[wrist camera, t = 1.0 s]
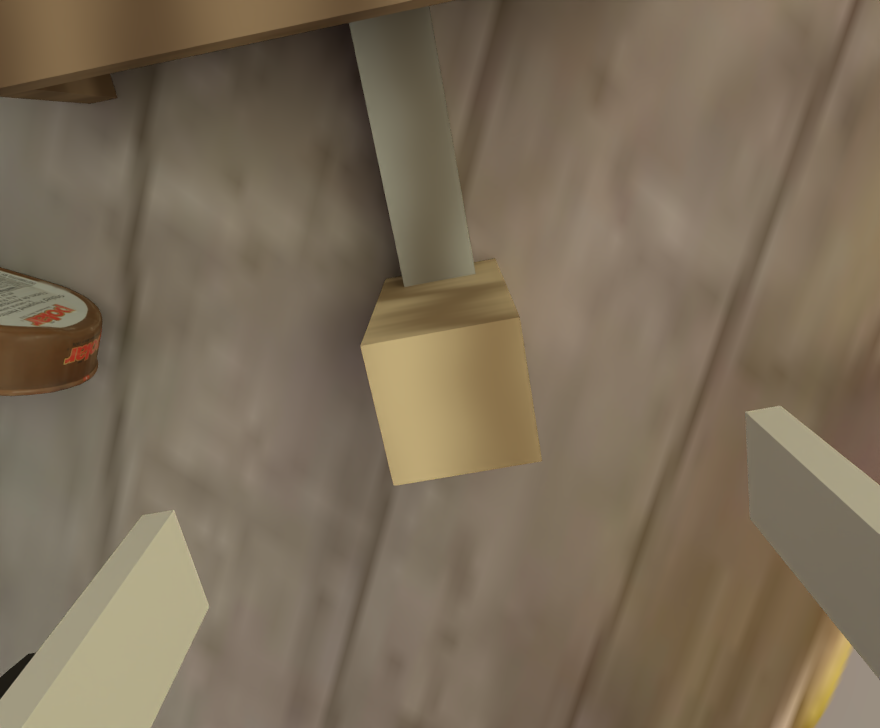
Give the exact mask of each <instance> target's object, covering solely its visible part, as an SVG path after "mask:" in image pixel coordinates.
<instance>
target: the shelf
mask: <svg viewBox="0 0 880 728" xmlns="http://www.w3.org/2000/svg"><path fill="white" fill-rule="evenodd" d="M449 1H454V0H0V97H11V98H23V99H36V100H49V101H62V102H75V103H87V104H91V103H96V102H101V101H105V100H110V99H115V98H117V95H116V92H115V89H114V85H113V82H112V79H111V76H110V73H115V72H119V71H124V70H129V69H133V68H138V67H143V66H148V65H152V64H157V63H162V62H166V61H171V60H176V59H181V58H185V57H190V56H195V55H199V54H204V53H209V52H214V51H218V50H223V49H228V48H232V47H237V46H242V45H247V44H251V43H256V42H261V41H265V40H270V39H275V38H280V37H284V36H289V35H294V34H299V33H303V32H308V31H313V30H317V29H322V28H327V27H332V26H336V25H341V24H346V23H350V22H355V21H360V20H365V19H369V18H374V17H379V16H383V15H388V14H393V13H398V12H402V11H407V10H412V9H416V8H421V7H426V6H431V5H435V4H440V3H445V2H449Z"/></svg>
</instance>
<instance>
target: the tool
mask: <svg viewBox="0 0 880 728" xmlns="http://www.w3.org/2000/svg"><path fill="white" fill-rule="evenodd" d="M349 26H350V30H351V35H352V40H353V45H354V49H355V54H356V59H357V64H358V68H359V73H360V78H361V83H362V87H363V92H364V97H365V102H366V106H367V111H368V116H369V121H370V125H371V130H372V135H373V140H374V145H375V149H376V154H377V159H378V164H379V168H380V173H381V178H382V183H383V187H384V192H385V197H386V202H387V206H388V211H389V216H390V221H391V225H392V230H393V235H394V240H395V244H396V249H397V254H398V259H399V264H400V268H401V273H402V276H399V277H393V278H388V279H385V282H384V285H383V287H382V290H381V293H380V295H379V298H378V301H377V303H376V306H375V309H374V311H373V314H372V317H371V319H370V322H369V324H368V327H367V330H366V332H365V335H364V338H363V340H362V343H361V351H362V355H363V359H364V363H365V367H366V372H367V376H368V380H369V384H370V388H371V392H372V397H373V401H374V405H375V409H376V413H377V418H378V422H379V426H380V430H381V434H382V438H383V443H384V447H385V451H386V455H387V459H388V464H389V468H390V472H391V476H392V480H393V484H394V486H396V485H402V484H408V483H414V482H420V481H426V480H432V479H438V478H444V477H450V476H456V475H462V474H468V473H474V472H480V471H486V470H492V469H498V468H504V467H510V466H516V465H522V464H528V463H534V462H540V461H542V458H541V452H540V445H539V439H538V432H537V426H536V420H535V413H534V407H533V400H532V394H531V387H530V381H529V374H528V368H527V362H526V355H525V349H524V342H523V336H522V329H521V323H520V317H519V315H518V312H517V310H516V307H515V305H514V303H513V300H512V298H511V295H510V293H509V291H508V288H507V286H506V284H505V281H504V279H503V276H502V274H501V272H500V269H499V267H498V265H497V262H496V260H495V259H490V260H484V261H479V262H473V256H472V250H471V244H470V239H469V233H468V227H467V221H466V216H465V210H464V204H463V198H462V192H461V187H460V181H459V175H458V169H457V164H456V158H455V152H454V146H453V141H452V135H451V129H450V123H449V118H448V112H447V106H446V100H445V95H444V89H443V83H442V77H441V71H440V66H439V60H438V54H437V48H436V43H435V37H434V31H433V25H432V20H431V14H430V8H429V6H426V7H421V8H416V9H412V10H407V11H402V12H398V13H393V14H388V15H383V16H379V17H374V18H369V19H365V20H360V21H355V22H350V23H349Z"/></svg>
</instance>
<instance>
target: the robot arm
mask: <svg viewBox="0 0 880 728" xmlns="http://www.w3.org/2000/svg"><path fill="white" fill-rule="evenodd" d="M745 417H746V439H747V462H748V484H749V506H750V519H751V521H752V522H753V523H754V524H755V525H756V527H757V528H758V529H759V530H760V532H761V533H762V534H763V535H764V537H765V538H766V539H767V540H768V542H769V543H770V544H771V545H772V547H773V548H774V549H775V550H776V552H777V553H778V554H779V555H780V557H781V558H782V559H783V560H784V562H785V563H786V564H787V565H788V566H789V568H790V569H791V570H792V571H793V573H794V574H795V575H796V576H797V578H798V579H799V580H800V581H801V583H802V584H803V585H804V586H805V588H806V589H807V590H808V591H809V593H810V594H811V595H812V596H813V598H814V599H815V600H816V601H817V603H818V604H819V605H820V606H821V608H822V609H823V610H824V611H825V612H826V614H827V615H828V616H829V617H830V619H831V620H832V621H833V622H834V624H835V625H836V626H837V627H838V629H839V630H840V631H841V632H842V634H843V635H844V636H845V637H846V639H847V640H848V641H849V642H850V644H851V645H852V646H853V647H854V649H855V650H856V651H857V652H858V654H859V655H860V656H861V657H862V658H863V659H864V661H865V662H866V663H867V665H868V666H869V667H870V668H871V670H872V671H873V672H874V673H875V675H876V676H877V677H878V678H879V680H880V485H879V484H877V483H876V482H875V481H874V480H872V479H871V478H870V477H869V476H867V475H866V474H865V473H864V472H862V471H861V470H860V469H859V468H857V467H856V466H855V465H854V464H852V463H851V462H850V461H849V460H847V459H846V458H845V457H844V456H842V455H841V454H840V453H839V452H837V451H836V450H835V449H834V448H832V447H831V446H830V445H829V444H827V443H826V442H825V441H824V440H822V439H821V438H820V437H819V436H817V435H816V434H815V433H814V432H813V431H811V430H810V429H809V428H808V427H806V426H805V425H804V424H803V423H801V422H800V421H799V420H798V419H796V418H795V417H794V416H793V415H791V414H790V413H789V412H788V411H786V410H785V409H784V408H783V407H781V406H776V407H771V408H765V409H759V410H753V411H747V412H745ZM208 608H209V604H208V601H207V599H206V596H205V593H204V591H203V588H202V585H201V582H200V580H199V577H198V574H197V571H196V569H195V566H194V563H193V561H192V558H191V555H190V552H189V550H188V547H187V544H186V542H185V539H184V536H183V533H182V531H181V528H180V525H179V522H178V520H177V517H176V514H175V512H174V510H171V511H165V512H159V513H153V514H147V515H142V516H141V518H140V519H139V520H138V522H137V523H136V524H135V525H134V527H133V528H132V529H131V531H130V532H129V533H128V535H127V536H126V537H125V538H124V540H123V541H122V542H121V544H120V545H119V546H118V548H117V549H116V550H115V551H114V553H113V554H112V555H111V557H110V558H109V559H108V560H107V562H106V563H105V564H104V566H103V567H102V568H101V570H100V571H99V572H98V573H97V575H96V576H95V577H94V579H93V580H92V581H91V583H90V584H89V585H88V586H87V588H86V589H85V590H84V592H83V593H82V594H81V595H80V597H79V598H78V599H77V601H76V602H75V603H74V605H73V606H72V607H71V608H70V610H69V611H68V612H67V614H66V615H65V616H64V617H63V619H62V620H61V621H60V623H59V624H58V625H57V627H56V628H55V629H54V630H53V632H52V633H51V634H50V636H49V637H48V638H47V640H46V641H45V642H44V643H43V645H42V646H41V647H40V649H39V650H38V651H37V652H36V653H31V654H28V655H26V656H25V657H24V658H23V659H22V660H20V661H19V662H18V663H17V664H16V665H14V666H13V667H12V668H11V669H10V670H8V671H7V672H6V673H5V674H4V675H2V676H1V677H0V728H151V726H152V724H153V722H154V720H155V718H156V716H157V714H158V712H159V710H160V708H161V706H162V703H163V701H164V699H165V697H166V695H167V693H168V691H169V689H170V687H171V685H172V683H173V681H174V679H175V677H176V674H177V672H178V670H179V668H180V666H181V664H182V662H183V660H184V658H185V656H186V654H187V652H188V650H189V648H190V645H191V643H192V641H193V639H194V637H195V635H196V633H197V631H198V629H199V627H200V625H201V623H202V621H203V618H204V616H205V614H206V612H207V610H208Z"/></svg>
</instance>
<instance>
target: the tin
mask: <svg viewBox="0 0 880 728" xmlns="http://www.w3.org/2000/svg"><path fill="white" fill-rule="evenodd" d="M101 330H102V316H101V313H100V311H99V309H98V307H97V306H96V305H95V304H94V303H93V302H91V301H90V300H89V299H87V298H86V297H84V296H82V295H81V294H79V293H77V292H75V291H72V290H70V289H68V288H65V287H63V286H60V285H57V284H54V283H51V282H47V281H44V280H41V279H37V278H34V277H31V276H27V275H24V274H21V273H17V272H14V271H11V270H7V269H4V268H1V267H0V396H19V395H33V394H43V393H51V392H56V391H59V390H64V389H68V388H71V387H74V386H77V385H80V384H82V383H84V382H85V381H87V380H89V379H90V378H91V377H93V376H94V374H95V373H96V371H97V368H98V360H97V353H98V348H99V342H100V337H101Z"/></svg>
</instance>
